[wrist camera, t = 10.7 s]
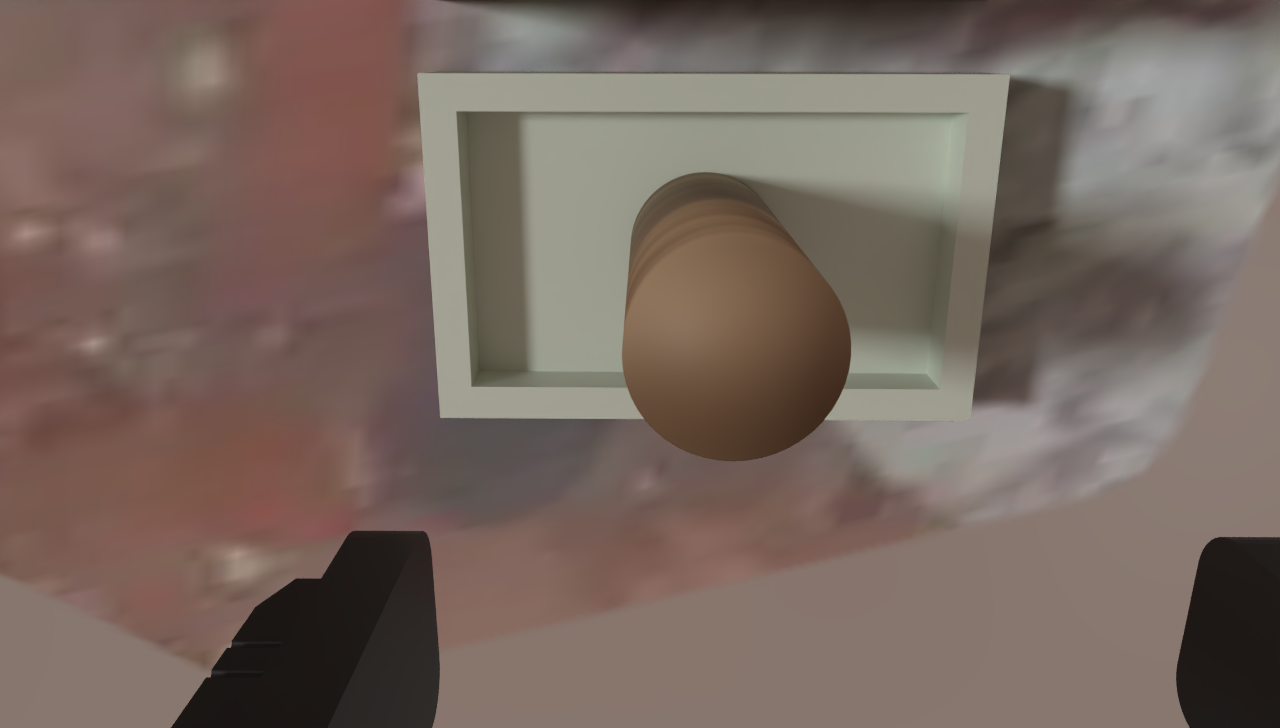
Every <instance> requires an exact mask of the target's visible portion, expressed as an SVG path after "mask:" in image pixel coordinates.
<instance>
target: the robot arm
mask: <svg viewBox="0 0 1280 728" xmlns="http://www.w3.org/2000/svg"><path fill="white" fill-rule="evenodd" d="M439 677H440V662H439V647H438V634H437V621H436V607H435V594H434V581H433V567H432V555H431V547H430V542H429V538H428V536H427V534H426V532H424V531H352V532H351V533H349V535H348V536H347V538H346V539H345V541H344V542H343V544H342V546H341V547H340V549H339V551H338V552H337V554H336V555H335V557H334V559H333V560H332V562H331V564H330V565H329V567H328V569H327V570H326V572H325V573H324V575H323V577H322V578H321V579H295V580H293V581H292V582H291V583H289V584H288V585H286V586H285V587H283V588H282V589H281V590H279V591H278V592H276V593H275V594H273V595H272V596H271V597H269V598H268V599H266V600H265V601H264V602H262V603H261V604H259V605H258V606H256V607H255V609H254V610H253V611H252V613H251V614H250V616H249V617H248V619H247V620H246V621H245V623H244V624H243V626H242V627H241V629H240V630H239V631H238V633H237V634H236V636H235V637H234V639H233V640H232V646H231V648H227V649H226V650H225V651H224V653H223V654H222V656H221V657H220V659H219V660H218V661H217V663H216V664H215V666H214V667H213V669H212V674H211V677H210V678H206V679H205V680H204V681H203V683H202V684H201V686H200V687H199V689H198V690H197V692H196V693H195V694H194V696H193V697H192V699H191V700H190V701H189V703H188V705H187V706H186V707H185V709H184V710H183V711H182V713H181V714H180V716H179V717H178V719H177V720H176V721H175V723H174V724H173V726H172V727H171V728H432V726H433V723H434V718H435V714H436V708H437V702H438V693H439ZM1176 682H1177V692H1178V697H1179V702H1180V706H1181V709H1182V712H1183V714H1184V717H1185V719H1186V721H1187V723H1188V725H1189V727H1190V728H1280V538H1279V537H1218V538H1215V539H1213V540H1211V541H1210V542H1209V543H1208V544H1207V545H1206V546H1205V548H1204V549H1203V551H1202V554H1201V556H1200V559H1199V563H1198V568H1197V573H1196V577H1195V582H1194V587H1193V592H1192V596H1191V601H1190V607H1189V611H1188V616H1187V621H1186V625H1185V630H1184V635H1183V640H1182V645H1181V649H1180V654H1179V660H1178V664H1177V672H1176Z"/></svg>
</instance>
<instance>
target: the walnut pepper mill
mask: <svg viewBox="0 0 1280 728" xmlns="http://www.w3.org/2000/svg"><path fill="white" fill-rule="evenodd" d="M850 360H851V337H850V329H849V325H848V321H847V318H846V314H845V312H844V309H843V307H842V305H841V303H840V300H839V299H838V297H837V295H836V294H835V292H834V291H833V289H832V288H831V286H830V285H829V284H828V282H827V281H826V280H825V279H824V277H823V276H822V275H821V274H820V272H819V271H818V270H817V269H816V267H815V266H814V265H813V263H812V262H811V261H810V260H809V258H808V257H807V256H806V255H805V253H804V252H803V251H802V250H801V248H800V247H799V246H798V244H797V243H796V242H795V241H794V239H793V238H792V237H791V236H790V234H789V233H788V232H787V231H786V229H785V228H784V227H783V226H782V224H781V223H780V222H779V220H778V219H777V218H776V217H775V215H774V214H773V213H772V212H771V210H770V209H769V208H768V207H767V205H766V204H765V203H764V201H763V200H762V199H761V198H760V197H759V195H758V194H757V193H756V192H754V191H753V190H752V189H751V188H750V187H749V186H747V185H746V184H744V183H743V182H741V181H739V180H737V179H735V178H733V177H730V176H727V175H724V174H719V173H712V172H698V173H691V174H686V175H683V176H680V177H677V178H675V179H673V180H671V181H669V182H667V183H666V184H664V185H663V186H661V187H660V188H659V189H657V190H656V191H655V192H654V193H653V194H652V195H651V196H650V197H649V198H648V199H647V201H646V202H645V203H644V205H643V206H642V208H641V209H640V211H639V213H638V215H637V217H636V220H635V223H634V226H633V230H632V235H631V245H630V257H629V270H628V282H627V294H626V307H625V319H624V331H623V345H622V365H623V373H624V377H625V382H626V385H627V388H628V391H629V394H630V396H631V398H632V400H633V402H634V404H635V406H636V408H637V410H638V411H639V412H640V414H641V415H642V417H643V418H644V419H645V421H646V422H647V423H648V424H649V425H650V426H651V427H652V428H653V429H654V430H655V431H656V432H657V433H658V434H659V435H661V436H662V437H663V438H664V439H665V440H667V441H669V442H670V443H672V444H673V445H675V446H677V447H678V448H680V449H683V450H685V451H687V452H689V453H691V454H695V455H698V456H701V457H704V458H709V459H714V460H722V461H745V460H752V459H758V458H763V457H766V456H769V455H772V454H776V453H778V452H780V451H782V450H785V449H787V448H789V447H791V446H793V445H794V444H796V443H798V442H799V441H801V440H802V439H804V438H805V437H806V436H808V435H809V434H810V433H811V432H813V431H814V430H815V429H816V428H817V427H818V426H819V425H820V424H821V423H822V422H823V421H824V419H825V418H826V417H827V416H828V414H829V413H830V412H831V411H832V409H833V407H834V406H835V404H836V402H837V401H838V399H839V397H840V395H841V393H842V390H843V388H844V386H845V383H846V380H847V376H848V372H849V368H850Z"/></svg>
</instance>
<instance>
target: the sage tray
mask: <svg viewBox="0 0 1280 728" xmlns="http://www.w3.org/2000/svg"><path fill="white" fill-rule="evenodd" d="M417 75H418V90H419V105H420V120H421V135H422V150H423V165H424V180H425V195H426V210H427V225H428V240H429V255H430V270H431V285H432V300H433V315H434V330H435V345H436V360H437V375H438V390H439V405H440V418H561V419H644V418H643V417H642V415H641V414H640V412H639V411H638V410H637V408H636V406H635V404H634V402H633V400H632V398H631V396H630V394H629V391H628V388H627V385H626V382H625V377H624V373H623V365H622V345H623V331H624V319H625V307H626V294H627V282H628V270H629V257H630V245H631V235H632V230H633V226H634V223H635V220H636V217H637V215H638V213H639V211H640V209H641V208H642V206H643V205H644V203H645V202H646V201H647V199H648V198H649V197H650V196H651V195H652V194H653V193H654V192H655V191H656V190H657V189H659V188H660V187H661V186H663V185H664V184H666V183H667V182H669V181H671V180H673V179H675V178H677V177H680V176H683V175H686V174H691V173H698V172H712V173H719V174H724V175H727V176H730V177H733V178H735V179H737V180H739V181H741V182H743V183H744V184H746V185H747V186H749V187H750V188H751V189H752V190H753V191H754V192H756V193H757V194H758V195H759V197H760V198H761V199H762V200H763V201H764V203H765V204H766V205H767V207H768V208H769V209H770V210H771V212H772V213H773V214H774V215H775V217H776V218H777V219H778V220H779V222H780V223H781V224H782V226H783V227H784V228H785V229H786V231H787V232H788V233H789V234H790V236H791V237H792V238H793V239H794V241H795V242H796V243H797V244H798V246H799V247H800V248H801V250H802V251H803V252H804V253H805V255H806V256H807V257H808V258H809V260H810V261H811V262H812V263H813V265H814V266H815V267H816V269H817V270H818V271H819V272H820V274H821V275H822V276H823V277H824V279H825V280H826V281H827V282H828V284H829V285H830V286H831V288H832V289H833V291H834V292H835V294H836V295H837V297H838V299H839V300H840V303H841V305H842V307H843V309H844V312H845V314H846V318H847V321H848V325H849V329H850V337H851V360H850V368H849V372H848V376H847V380H846V383H845V386H844V388H843V390H842V393H841V395H840V397H839V399H838V401H837V402H836V404H835V406H834V407H833V409H832V411H831V412H830V413H829V414H828V416H827V417H826V418H825V419H824V420H888V421H970V417H971V409H972V400H973V391H974V383H975V374H976V365H977V357H978V348H979V339H980V331H981V322H982V313H983V305H984V296H985V287H986V279H987V270H988V261H989V253H990V244H991V235H992V227H993V218H994V209H995V201H996V192H997V183H998V175H999V166H1000V158H1001V149H1002V140H1003V132H1004V123H1005V114H1006V106H1007V97H1008V88H1009V80H1010V74H994V73H917V72H447V71H437V72H425V73H417Z"/></svg>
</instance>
